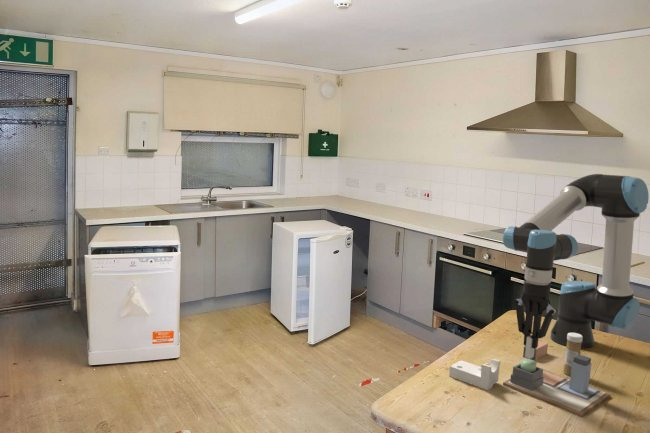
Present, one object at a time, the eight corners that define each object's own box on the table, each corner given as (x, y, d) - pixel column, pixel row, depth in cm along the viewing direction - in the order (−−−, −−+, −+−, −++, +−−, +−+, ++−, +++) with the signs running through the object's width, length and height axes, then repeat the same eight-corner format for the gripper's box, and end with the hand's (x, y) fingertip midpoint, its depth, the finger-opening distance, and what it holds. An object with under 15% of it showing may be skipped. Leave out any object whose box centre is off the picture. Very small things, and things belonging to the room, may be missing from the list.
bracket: (497, 383, 168) (500, 360, 167) (487, 391, 163) (489, 367, 162) (460, 370, 177) (462, 348, 176) (449, 376, 172) (451, 354, 171)
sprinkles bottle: (581, 375, 177) (585, 335, 175) (572, 377, 175) (577, 338, 173) (568, 369, 181) (572, 331, 179) (559, 372, 178) (564, 333, 176)
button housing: (521, 376, 172) (523, 361, 171) (542, 384, 166) (544, 369, 166) (510, 382, 167) (511, 366, 166) (531, 390, 162) (533, 375, 161)
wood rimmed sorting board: (534, 368, 180) (534, 364, 180) (610, 396, 163) (610, 392, 163) (502, 384, 167) (503, 380, 167) (581, 416, 150) (582, 412, 149)
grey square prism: (574, 384, 166) (578, 353, 165) (588, 389, 164) (592, 358, 162) (569, 388, 164) (572, 357, 162) (582, 393, 161) (586, 361, 159)
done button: (524, 366, 169) (525, 357, 169) (538, 371, 166) (539, 362, 165) (517, 370, 166) (518, 361, 166) (531, 375, 163) (532, 366, 162)
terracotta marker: (536, 350, 197) (522, 357, 190) (537, 340, 196) (523, 346, 190) (546, 354, 194) (533, 360, 187) (548, 343, 193) (534, 349, 187)
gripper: (510, 278, 164) (503, 352, 168) (552, 288, 155) (543, 367, 158) (523, 275, 169) (515, 347, 173) (564, 285, 160) (555, 361, 163)
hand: (529, 357), depth 165 cm, fingers closed
